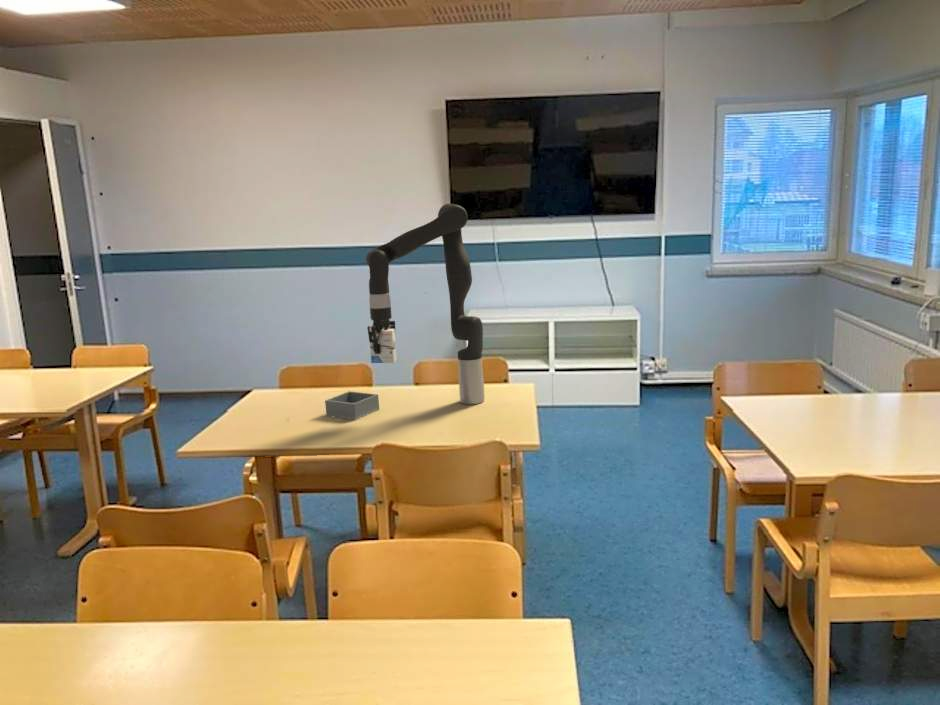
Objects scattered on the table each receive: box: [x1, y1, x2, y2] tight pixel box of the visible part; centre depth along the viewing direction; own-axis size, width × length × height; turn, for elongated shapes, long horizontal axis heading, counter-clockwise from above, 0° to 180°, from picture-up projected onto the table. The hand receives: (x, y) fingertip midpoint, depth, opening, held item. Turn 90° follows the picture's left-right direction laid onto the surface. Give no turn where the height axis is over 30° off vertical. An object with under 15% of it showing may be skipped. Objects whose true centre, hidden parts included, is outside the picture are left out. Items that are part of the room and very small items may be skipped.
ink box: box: [369, 328, 397, 364], centre depth 264 cm, size 9×5×12 cm, turn 84°
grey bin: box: [324, 390, 380, 420], centre depth 275 cm, size 14×14×6 cm
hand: (383, 351), depth 265 cm, fingers closed on ink box, 6 cm apart
